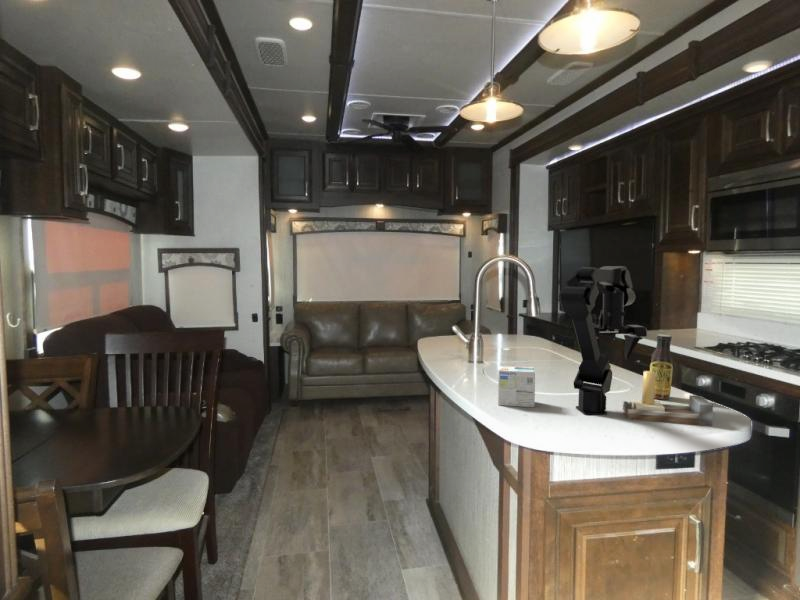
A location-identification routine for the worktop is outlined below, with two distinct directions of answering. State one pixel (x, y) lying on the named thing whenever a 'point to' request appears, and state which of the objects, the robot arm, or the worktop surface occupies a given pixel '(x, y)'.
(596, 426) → the worktop surface
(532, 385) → the light bulb box
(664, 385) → the sauce bottle
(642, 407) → the rail carriage
